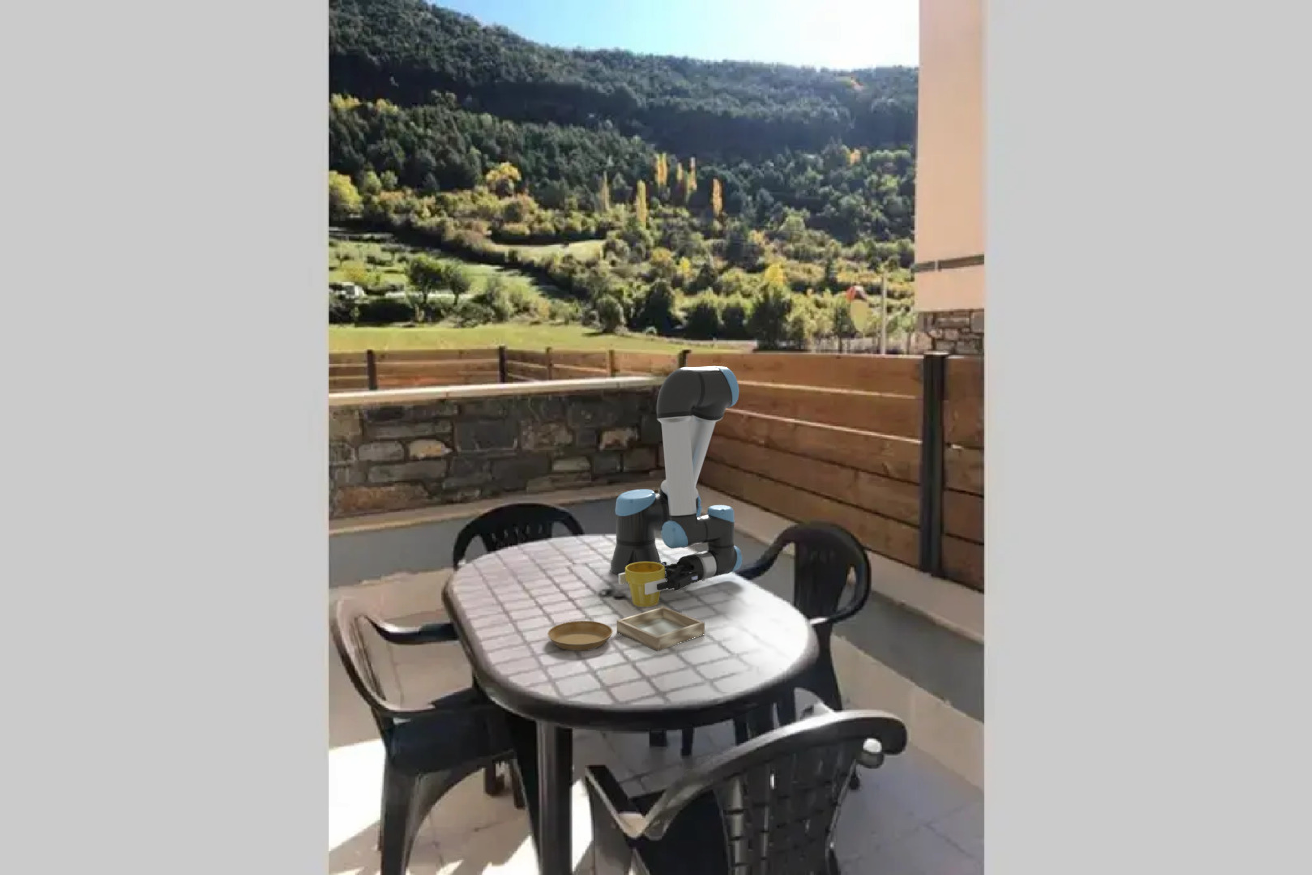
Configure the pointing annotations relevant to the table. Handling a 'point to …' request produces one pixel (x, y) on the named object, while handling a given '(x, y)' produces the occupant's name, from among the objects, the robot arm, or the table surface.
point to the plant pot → (643, 581)
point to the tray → (660, 628)
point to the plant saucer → (580, 635)
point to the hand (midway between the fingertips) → (632, 584)
